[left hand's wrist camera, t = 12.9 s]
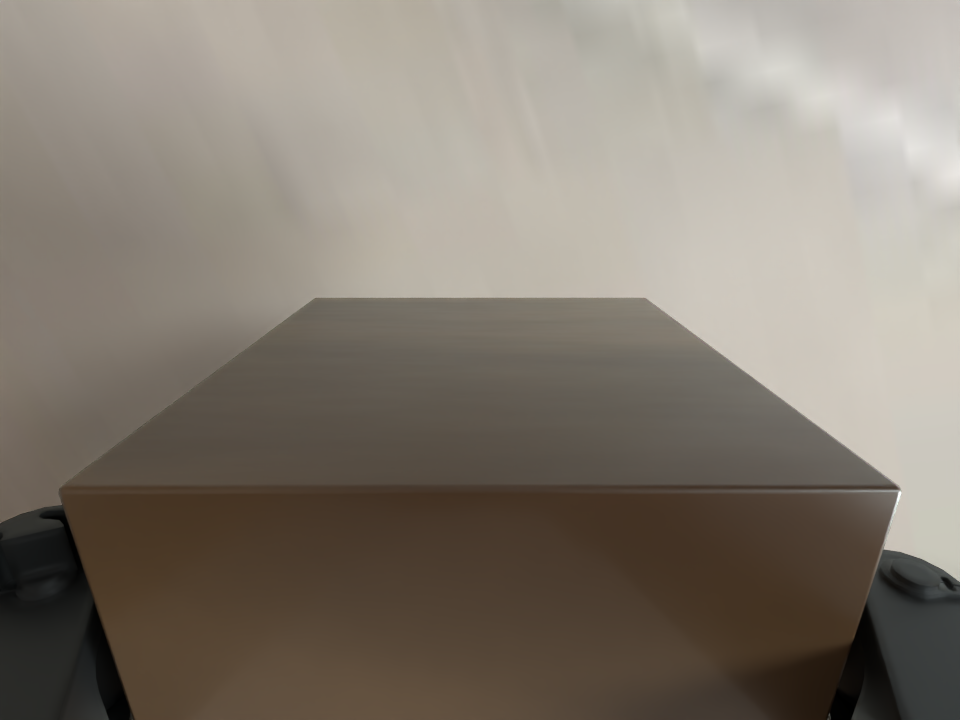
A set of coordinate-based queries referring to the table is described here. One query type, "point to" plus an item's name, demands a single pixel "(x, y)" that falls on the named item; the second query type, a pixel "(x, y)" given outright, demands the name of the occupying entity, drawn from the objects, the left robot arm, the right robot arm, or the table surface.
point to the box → (480, 525)
